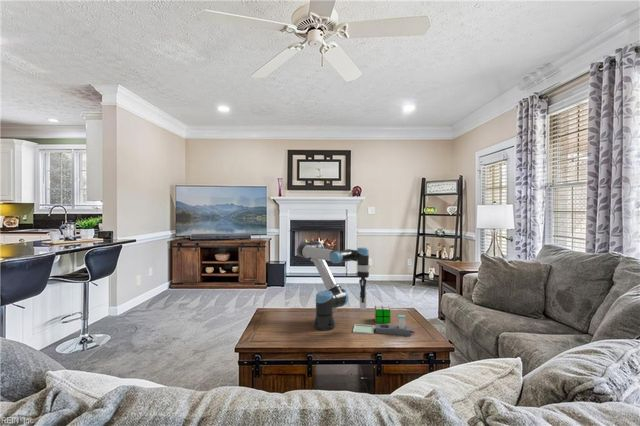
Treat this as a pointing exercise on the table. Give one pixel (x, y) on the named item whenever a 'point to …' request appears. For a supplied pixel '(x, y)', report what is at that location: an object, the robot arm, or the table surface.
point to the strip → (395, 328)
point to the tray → (363, 329)
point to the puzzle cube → (382, 314)
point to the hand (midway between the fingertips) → (363, 306)
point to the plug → (365, 302)
